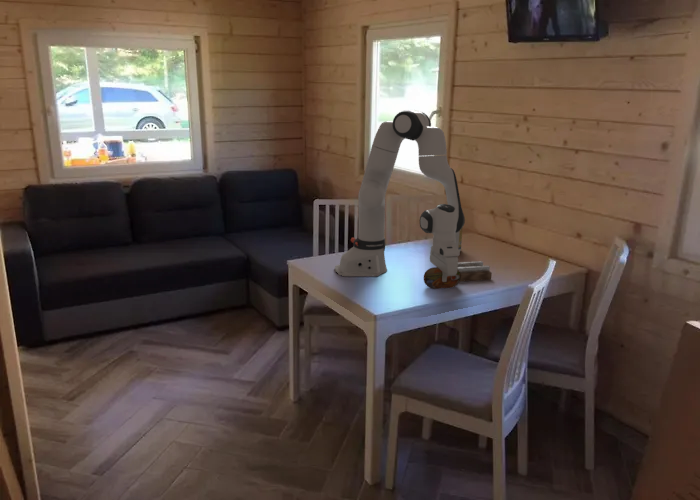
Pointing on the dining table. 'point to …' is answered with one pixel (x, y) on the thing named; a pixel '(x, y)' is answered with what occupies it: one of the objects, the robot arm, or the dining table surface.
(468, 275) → the dock
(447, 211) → the robot arm
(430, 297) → the dining table surface
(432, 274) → the tin
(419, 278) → the dining table surface
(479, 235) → the dining table surface
